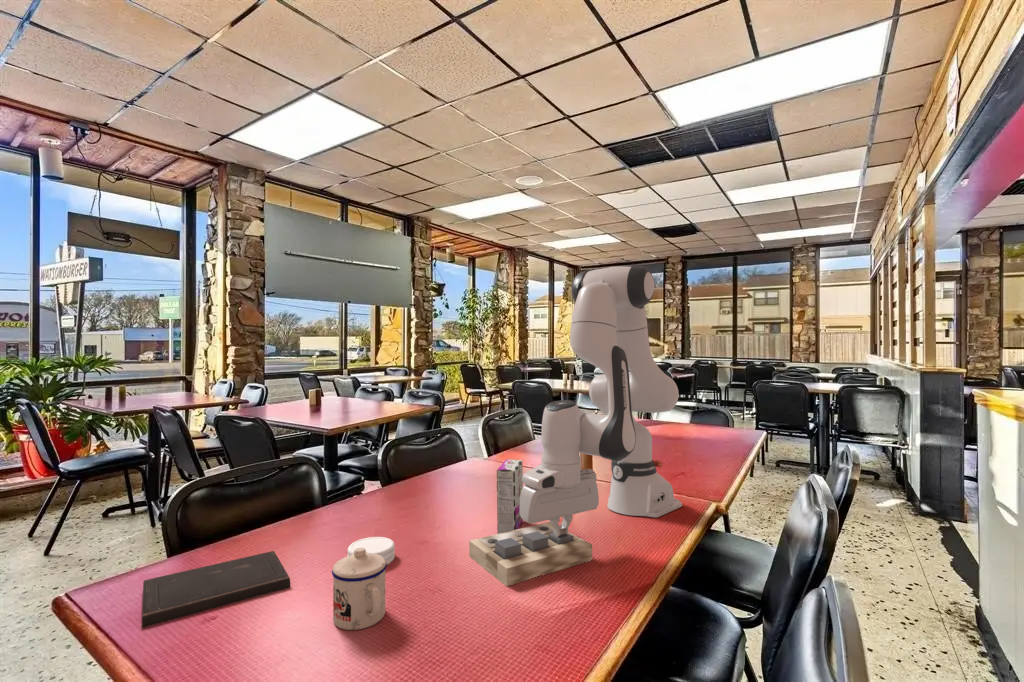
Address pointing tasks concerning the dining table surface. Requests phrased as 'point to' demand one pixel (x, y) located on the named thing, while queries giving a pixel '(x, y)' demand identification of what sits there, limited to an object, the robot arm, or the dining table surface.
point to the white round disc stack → (375, 547)
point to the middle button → (535, 541)
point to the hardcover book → (211, 587)
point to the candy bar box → (509, 495)
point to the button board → (528, 555)
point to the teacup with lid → (359, 590)
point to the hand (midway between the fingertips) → (560, 535)
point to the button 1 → (507, 548)
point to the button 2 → (560, 538)
